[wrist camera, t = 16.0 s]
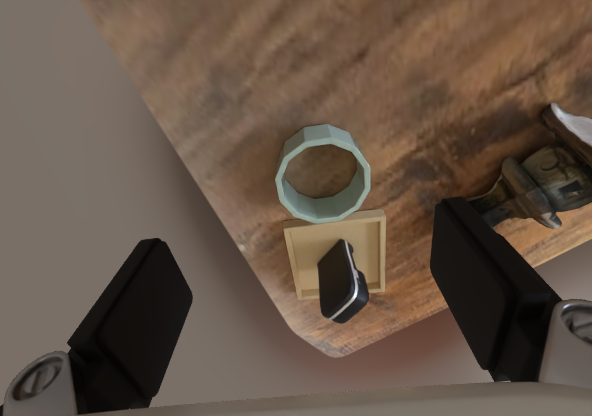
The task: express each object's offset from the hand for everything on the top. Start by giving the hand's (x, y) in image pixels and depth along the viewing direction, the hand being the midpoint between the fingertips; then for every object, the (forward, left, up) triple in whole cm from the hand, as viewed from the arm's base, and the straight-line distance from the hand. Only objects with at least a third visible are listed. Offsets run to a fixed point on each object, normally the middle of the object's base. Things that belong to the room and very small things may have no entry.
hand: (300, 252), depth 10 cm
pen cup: (-2, +10, -30) cm, 32 cm away
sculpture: (-28, +15, -30) cm, 44 cm away
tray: (-3, +26, -30) cm, 40 cm away
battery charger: (-3, +26, -29) cm, 39 cm away
